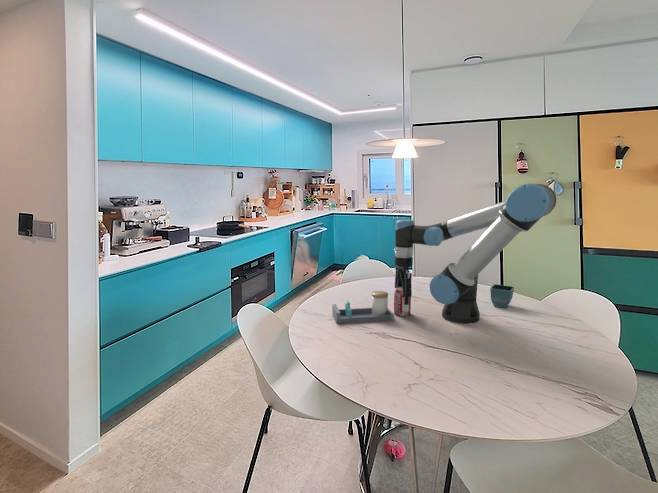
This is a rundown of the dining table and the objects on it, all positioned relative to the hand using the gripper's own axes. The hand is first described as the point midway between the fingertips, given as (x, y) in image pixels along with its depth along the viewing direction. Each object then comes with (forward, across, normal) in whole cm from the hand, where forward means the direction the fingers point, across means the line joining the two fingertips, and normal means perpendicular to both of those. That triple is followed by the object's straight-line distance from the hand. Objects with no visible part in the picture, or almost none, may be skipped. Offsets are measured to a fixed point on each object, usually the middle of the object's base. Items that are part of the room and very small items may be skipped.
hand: (402, 308), depth 158 cm
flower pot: (+3, -4, +49) cm, 49 cm away
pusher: (+2, +1, -24) cm, 24 cm away
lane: (+3, +1, -18) cm, 18 cm away
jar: (+3, +1, -10) cm, 11 cm away
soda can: (+3, 0, 0) cm, 3 cm away
